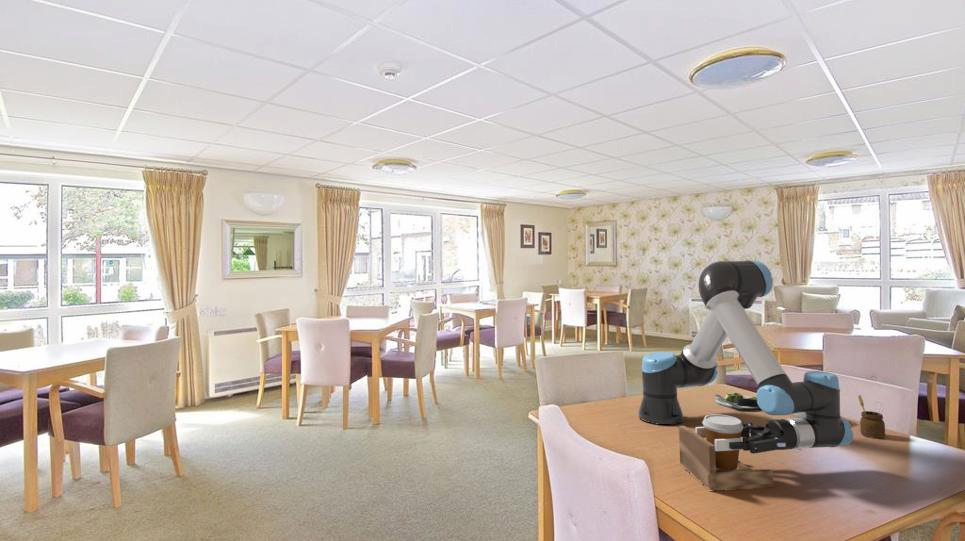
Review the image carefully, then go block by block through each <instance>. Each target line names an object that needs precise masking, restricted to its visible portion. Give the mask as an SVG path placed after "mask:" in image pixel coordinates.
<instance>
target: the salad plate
mask: <svg viewBox="0 0 965 541" xmlns="http://www.w3.org/2000/svg"><path fill="white" fill-rule="evenodd" d="M725 394H726V395H724V396H721V395H720V394H714V397H715V401H716V403H717V404H720V405H721V406H723V405H724V407H727V408H730V409H732V410H733V409H734V410H737V411H742V412H757V411H758V412H759V411H762V410H761V408H760V407H759V405H758V403H757V398H756V396H752V397H751V396H748V395H743V394H741V393H738V392H732V393H728V392H726V393H725Z"/></svg>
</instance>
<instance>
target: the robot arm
mask: <svg viewBox="0 0 965 541" xmlns="http://www.w3.org/2000/svg"><path fill="white" fill-rule="evenodd" d="M773 282H774V278H773V277H772V272H771V270H770V269H769V267H768V266H767V265H766V264H765V263H763V262H761V261H760V260H759V261H758V260H751V259H746V260H728V261H727V260H719V261H718V260H717V261H714V262H712V263H710V264H709V265H707V266H705V268H704V269H703V270H702V271H701V274H700V275H699V278H698V291H699V295H700V298H701V300H702V303H703V304H704V306H705V307H706V309H707V310H709V311H708V312H707V314H706V316H705V318H704V320H703V322H702V324H701V326H700V327H699V329H698V331H697V333H696V335H695V337H694V338H693V340H692V342H691V344H687V345H685V346H684V347H683V349H682V350H681V352H680V354H678V355H677V354H676V353H674V352H670V351H657V352H650V353H647V354H645V355H644V356H643V358H642V360H641V371H642V372H641V373H642V375H641V377H642V378H641V379H642V398H641V403H640V405H639V409H638V418H639V417H640V418H642V419H644V420H646V421H649V422H653V423H658V424H675V425H678V424H677V423H679V424H682V423H683V422H684V413H683V410H682V407H681V405H680V402H679V399H678V389H680V388H681V389H682V388H693V387H703V386H706V385H709V384H712V383H713V381H715V380H716V378H717V376H718V370H717V369H718V364H717V359H716V356H717V354H718V352H719V350H720V348H722V347H721V346H722V345H723V344H724V342H725V341H726V339H727V337H728V338H729V340H730V342H731V343H732V346H733V347H734V349H735V350H736V352H737V353H738V355H739V356H740V358H741V360H742V362H743V363H744V365H745V367H746V368H747V369H748V371H749V373H750V375H751V377H752V379H753V380H754V382H755V383H756V385H757V387H758V389H757V390H756V391H757V392H756V393H755V397H756V398H757V403H758V405H759V407H760V408H761V410H760V411H762V412H763V413H765V414H767V415H770V416H789V415H793V414H794V413H800V412H805V413H806V418H797V417H791V418H779V419H770V420H768V422H767V423H766V425H765V426H764V425H758V424H757V425H754V423H753V422H751V421H746V422H741V423H742V425H743V429H742V431H741V439H740V438H729V439H715V451H729V450H739V451H742V450H743V451H745V452H748V451H749V453H750V454H752V455H753V454H760V453H766V452H767V453H768V452H772V451H785V450H786V451H787V450H793V449H794V450H798V451H802V449H812V448H815V449H817V448H838V447H842V446H843V447H844V446H847V445H850V444H851V442H852V441H853V438H854V431H853V429H852V427H851V426H852V425H851V424H850V422H849V421H848V420H847V419H846V418H844V417H842V416H841V389H840V381H839V377H838V376H837V374H835V373H832V372H829V371H822V370H821V371H819V370H808V371H806V372H805V373H803V381H796V382H795V381H794V382H792V380H791V379H790V377H789V376H788V374H787V372H786V371H785V370H784V368H783V367H782V365H781V363H780V362H779V361H778V359H777V357H776V356H775V354H774V353H773V351H772V350H771V348H770V346H769V345H768V343H767V342H766V340H765V339H764V337H763V336H762V335H761V333H760V331H759V330H758V329H757V327H756V326H755V324H754V323H753V321H752V319H751V318H750V315H749V314H748V313H747V312H746V310H749V309H750V308H752V306H753V305H754V303H755V302H756V300H757V298H762V297H765V296H767V295H769V294H770V292H771V291H772V289H773V285H774V283H773ZM640 418H639V419H640ZM682 421H683V422H682ZM681 422H682V423H681ZM658 424H657V425H658ZM694 432H695V433H696V434H698V435H699V436H701V437H702V438H704V439H706V434H705V428H704V426H696V427H695V431H694Z"/></svg>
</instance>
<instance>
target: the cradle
mask: <svg viewBox="0 0 965 541" xmlns="http://www.w3.org/2000/svg"><path fill="white" fill-rule="evenodd" d="M678 439H679V440H678V441H679V465H680V464H681V465H682V466H683V467H684V468H686V469H687V470H688V471H689V472H691V473H692V474H693V475H694V476H695V477H696V478H697V479H698V480H700V481H701V482H702V483H703V484H704V485H705V486H706V487H708V488H709V489H710V490H725V489H727V490H725V491H730V490H729V489H733V490H732V491H737V490H736V489H740V490H751V489H752V490H753V489H754V488H756V489H770V488H769V487H771V488H774V471H773V470H772V469H770V468H769V469H768V468H767V469H756V470H754V469H752V468H751V467H749V466H748V465H746V464H745V463H743V462H741V461H740V460H738V466H737V469H735V470H722V469H718V468H716V460H715V446H714V445H713V444H711V443H710V442H708V441H707V440H706V438H702V437H701V436H699V435H698V434H696V433H695V431H693V430H691V429H690V428H688V427H687V426H685V425H678ZM698 480H697V481H698ZM704 485H703V486H704ZM705 486H704V487H705ZM706 487H705V488H706Z"/></svg>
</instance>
